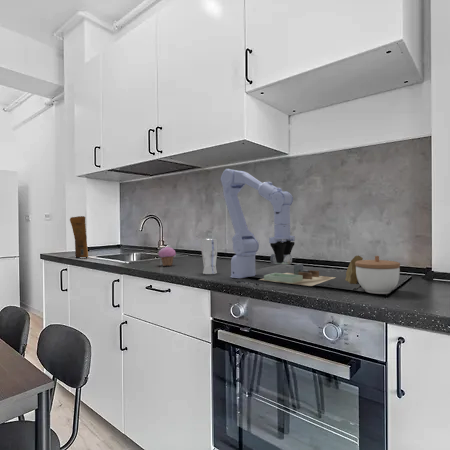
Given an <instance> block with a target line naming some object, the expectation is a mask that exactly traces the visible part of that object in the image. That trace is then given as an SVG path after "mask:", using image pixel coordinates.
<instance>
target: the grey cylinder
mask: <svg viewBox="0 0 450 450" xmlns="http://www.w3.org/2000/svg"><path fill="white" fill-rule="evenodd" d="M269 259H270V260H269V261H270V263H271V264H272V265H292V262H293V256H292V255H291V254H290V255H288V254H284V258H283V263H277V261H276V257H275V254H274V253H272V254H271V255H270V258H269Z"/></svg>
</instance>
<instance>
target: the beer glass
mask: <svg viewBox="0 0 450 450" xmlns="http://www.w3.org/2000/svg"><path fill="white" fill-rule="evenodd" d="M200 248H201V257H202V261H203V262H202V263H203V271H202V274H203V275H216V274H218V272H217V271H218V270H217V266H216V265H217V256H218V239H217V238H202V239H201V247H200Z"/></svg>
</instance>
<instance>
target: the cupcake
mask: <svg viewBox="0 0 450 450" xmlns="http://www.w3.org/2000/svg"><path fill="white" fill-rule="evenodd" d="M176 255H177V253H176V250H175V249H174V248H173V247H170V246H165V247H162V248H161V249H160V250H158V257H160V260H161V263H162V266H163V267H166V266H169V267H172V266H173V262H174V257H175V256H176Z"/></svg>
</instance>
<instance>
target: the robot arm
mask: <svg viewBox="0 0 450 450" xmlns="http://www.w3.org/2000/svg"><path fill="white" fill-rule="evenodd" d="M220 182H221V186H222V195H223V198H224V201H225V205H226V208H227V212H228V214H229V217H230V221H231V225H232V228H233V231H234V235H233V236H232V237H231V241H232V250H233V252H234V255H233V256H232V257H231V260H230V276H229V278H231V279H232V278H233V279H234V278H235V279H243V278H248V277H255V276H256V256H257V252H258V251H259V248H260V244H259V242H258V240H257V239H256V237H255V235H254V233H253V232H252V231H251V230H249V228H248V225H247V221H246V219H245V215H244V211H243V209H242V205H241V203H240V200H239V196H238V194H239V193H240V192H241V191H242V189H244V187H245V185H247V186H249V187H251V188H252V189H255V190H256V191H257V193H258V195H259V196H260V197H262V198H264V199H265V200H266V201H268V202H270V204H271V206H272V208H273V209H272V210H273V224H274V225H273V226H274V227H273V228H274V229H273V231H274V232H273V233H274V235H273V236H271V237H268V240H269V242H268V243H269V244H270V247H271V248H272V250H273V254H275V257H276V261H277V263H283V258H284V254H288V255H291V253H292V250H293V248H294V246H295V240H296V237H295V236H296V235H291V206H292V204H293V202H294V197H293V195H292V193H290V192H289V191H286V190H285V191H283V189H282V187H278V186H275V185H273V182H272V181H264V182H262V181H261V180H259V179H257V178H256V177H254V176H253V175H252V174H250V173H249V172H247V171H244V170H236V169H231V168H225V169H224V170H223V172H222V173H221V176H220Z"/></svg>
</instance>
